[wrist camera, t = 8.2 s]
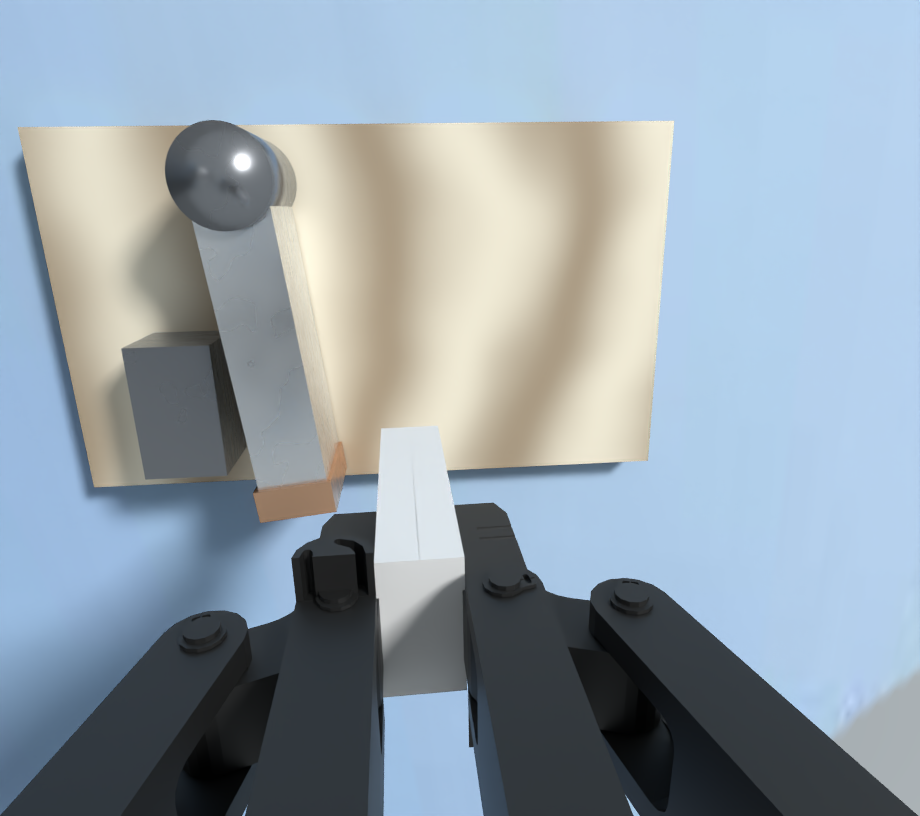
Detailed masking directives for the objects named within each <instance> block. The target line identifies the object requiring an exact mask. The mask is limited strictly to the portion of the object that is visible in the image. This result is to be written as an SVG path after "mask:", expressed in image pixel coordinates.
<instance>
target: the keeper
mask: <svg viewBox="0 0 920 816" xmlns="http://www.w3.org/2000/svg"><path fill="white" fill-rule="evenodd" d="M121 351H122V356H123V362H124V367H125V372H126V378H127V383H128V389H129V394H130V399H131V405H132V410H133V416H134V421H135V426H136V432H137V437H138V443H139V448H140V454H141V459H142V464H143V470H144V475H145V480H148V479H169V478H190V477H211V476H227V475H228V474H229V472H230V471H231V470H232V468H233V467H234V465H235V464H236V462H237V461H238V459H239V458H240V456H241V455H242V453H243V452H244V450H245V449H246V447H247V446H246V438H245V434H244V430H243V426H242V422H241V418H240V414H239V410H238V406H237V402H236V398H235V393H234V389H233V385H232V381H231V377H230V373H229V369H228V365H227V361H226V357H225V353H224V349H223V345H222V341H221V337H220V333H219V331H189V332H157V333H152V334H150V335H148V336H146V337H144V338H142V339H140V340H138V341H136V342H134V343H131V344H129V345H127V346H125V347H123V348H121Z"/></svg>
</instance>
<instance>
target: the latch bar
mask: <svg viewBox="0 0 920 816" xmlns="http://www.w3.org/2000/svg"><path fill="white" fill-rule="evenodd" d="M165 178H166V183H167V187H168V190H169V192H170V195H171V197H172V199H173V200H174V202H175V204H176V205H177V206H178V208H179V209H180V210H181V211H182V212H183V213H184V214H185V215H186V216H187V217H188V218H189V219H190V220H192V223H193V227H194V231H195V235H196V239H197V243H198V247H199V251H200V255H201V259H202V264H203V268H204V272H205V276H206V280H207V284H208V288H209V292H210V296H211V300H212V304H213V308H214V312H215V316H216V320H217V324H218V329H219V333H220V337H221V341H222V345H223V349H224V353H225V357H226V361H227V365H228V369H229V373H230V377H231V381H232V385H233V389H234V393H235V398H236V402H237V406H238V410H239V414H240V418H241V422H242V426H243V430H244V434H245V438H246V442H247V446H248V450H249V454H250V458H251V463H252V467H253V471H254V475H255V479H256V483H257V487H256V489H255V491H254V492H253V496H254V500H255V504H256V508H257V512H258V516H259V520H260V523H263V522H270V521H277V520H284V519H290V518H297V517H304V516H311V515H317V514H324V513H331V512H337V508H338V503H339V499H340V495H341V491H342V486H343V482H344V478H345V474H346V469H347V464H346V459H345V454H344V449H343V444H342V441H341V442H338V437H337V432H336V427H335V422H334V417H333V412H332V407H331V401H330V396H329V391H328V386H327V381H326V376H325V371H324V366H323V361H322V356H321V351H320V346H319V341H318V336H317V331H316V326H315V320H314V315H313V310H312V305H311V300H310V295H309V290H308V285H307V280H306V275H305V270H304V265H303V260H302V255H301V250H300V245H299V239H298V234H297V229H296V224H295V219H294V214H293V209H292V206H293V203H294V201H295V197H296V191H297V182H296V176H295V172H294V170H293V167H292V165H291V163H290V161H289V160H288V158H287V157H286V155H285V154H284V153H283V152H282V151H281V150H280V149H279V148H278V147H276V146H275V145H274V144H272V143H270V142H268V141H266V140H264V139H262V138H260V137H258V136H256V135H254V134H252V133H250V132H248V131H246V130H244V129H242V128H240V127H238V126H236V125H233V124H231V123H228V122H224V121H216V120H209V121H202V122H198V123H195V124H193V125H191V126H189V127H187V128H186V129H184V130H183V131H182V132H180V134H179V135H178V136H177V137H176V138H175V139H174V141H173V142H172V144H171V146H170V148H169V150H168V153H167V156H166V161H165Z"/></svg>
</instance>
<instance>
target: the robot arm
mask: <svg viewBox="0 0 920 816" xmlns="http://www.w3.org/2000/svg"><path fill="white" fill-rule="evenodd" d="M291 560H292V568H293V577H294V586H295V594H296V605H295V609H294V611H293V612H292V613H290V614H289V615H287V616H285V617H283V618H281V619H279V620H276V621H273V622H270V623H268V624H264V625H261V626H257V627H253V628H250V629H248V627H247V623H246V620H245V619H244V618H242V617H241V616H240V615H239V614H237V613H233V612H228V611H208V612H203V613H199V614H196V615H193V616H190V617H188V618H186V619H184V620H182V621H180V622H178V623H176V624H175V625H173V626H172V627H171V628H170V629H168V630H167V631H166V632H165V633H164V634H163V635H162V636H161V637H160V638H159V639H158V640H157V641H156V643H155V644H154V645H153V646H152V647H151V648H150V649H149V650H148V651H147V653H146V654H145V655H144V656H143V657H142V658H141V659H140V660H139V662H138V663H137V664H136V665H135V666H134V667H133V668H132V669H131V670H130V672H129V673H128V674H127V675H126V676H125V677H124V678H123V679H122V680H121V682H120V683H119V684H118V685H117V686H116V687H115V688H114V689H113V691H112V692H111V693H110V694H109V695H108V696H107V697H106V698H105V699H104V701H103V702H102V703H101V704H100V705H99V706H98V707H97V708H96V709H95V711H94V712H93V713H92V714H91V715H90V716H89V717H88V718H87V720H86V721H85V722H84V723H83V724H82V725H81V726H80V727H79V728H78V730H77V731H76V732H75V733H74V734H73V735H72V736H71V737H70V738H69V740H68V741H67V742H66V743H65V744H64V745H63V746H62V747H61V749H60V750H59V751H58V752H57V753H56V754H55V755H54V756H53V757H52V759H51V760H50V761H49V762H48V763H47V764H46V765H45V766H44V767H43V769H42V770H41V771H40V772H39V773H38V774H37V775H36V776H35V778H34V779H33V780H32V781H31V782H30V783H29V784H28V785H27V786H26V788H25V789H24V790H23V791H22V792H21V793H20V794H19V795H18V796H17V798H16V799H15V800H14V801H13V802H12V803H11V804H10V805H9V807H8V808H7V809H6V810H5V811H4V812H3V813H2V814H1V815H0V816H242V815H243V813H244V811H245V809H246V807H247V810H246V814H245V816H383V807H384V730H385V719H384V704H383V697H393V696H405V695H416V694H427V693H438V692H450V691H461V690H467V683H468V706H469V747H474V753H475V760H476V767H477V774H478V780H479V787H480V794H481V801H482V808H483V815H484V816H633V814H632V811H631V808H630V806H629V803H628V801H627V798H628V799H629V800H630V802H631V803H632V805H633V806H634V808H635V809H636V811H637V812H638V814H639V815H640V816H918V815H917V814H916V813H914V812H913V811H912V810H911V809H910V808H909V807H908V806H906V805H905V804H904V803H903V802H902V801H901V800H899V798H897V797H896V796H895V795H894V794H893V793H892V792H890V791H889V790H888V789H887V788H886V787H885V786H884V785H883V784H881V783H880V782H879V781H878V780H877V779H876V778H874V777H873V776H872V775H871V774H870V773H869V772H868V771H867V770H866V769H865V768H863V767H862V766H861V765H860V764H859V763H858V762H856V761H855V760H854V759H853V758H852V757H851V756H850V755H849V754H848V753H846V752H845V751H844V750H843V749H842V748H841V747H840V746H838V745H837V744H836V743H835V742H834V741H833V740H832V739H830V738H829V737H828V736H827V735H826V734H825V733H824V732H823V731H821V730H820V729H819V728H818V727H817V726H816V725H815V724H813V723H812V722H811V721H810V720H809V719H808V718H807V717H806V716H804V715H803V714H802V713H801V712H800V711H799V710H798V709H796V708H795V707H794V706H793V705H792V704H791V703H790V702H789V701H787V700H786V699H785V698H784V697H783V696H782V695H781V694H779V693H778V692H777V691H776V690H775V689H774V688H773V687H771V686H770V685H769V684H768V683H767V682H766V681H765V680H764V679H762V678H761V677H760V676H759V675H758V674H757V673H756V672H754V671H753V670H752V669H751V668H750V667H749V666H748V665H747V664H745V663H744V662H743V661H742V660H741V659H740V658H739V657H737V656H736V655H735V654H734V653H733V652H732V651H731V650H730V649H728V648H727V647H726V646H725V645H724V644H723V643H722V642H720V641H719V640H718V639H717V638H716V637H715V636H714V635H713V634H711V633H710V632H709V631H708V630H707V629H706V628H705V627H703V626H702V625H701V624H700V623H699V622H698V621H697V620H695V619H694V618H693V617H692V616H691V615H690V614H689V613H688V612H686V611H685V610H684V609H683V608H682V607H681V606H680V605H678V604H677V603H676V602H675V601H674V600H673V599H672V598H671V597H669V596H668V595H667V594H666V593H665V592H663V591H662V590H660V589H659V588H657V587H655V586H654V585H652V584H649V583H646V582H643V581H640V580H636V579H629V578H620V579H610V580H607V581H604V582H602V583H599V584H597V586H596V587H595V588H594V589H593V590H592V591H591V598H590V601H589V600H581V599H573V598H567V597H562V596H558V595H555V594H553V593H550V592H547V591H546V590H545V588H544V585H543V583H542V581H541V580H540V579H539V577H538V576H537V575H536V574H534V573H532V572H531V571H529V570H527V567H526V565H525V562H524V559H523V557H522V554H521V551H520V548H519V546H518V543H517V540H516V538H515V535H514V532H513V529H512V528H511V524H510V521H509V518H508V516H507V513H506V512H505V511H503V510H502V509H501V508H499V507H498V506H497V505H496V504H494V503H481V504H465V505H454V503H453V498H452V493H451V488H450V483H449V478H448V473H447V468H446V463H445V458H444V453H443V448H442V443H441V438H440V433H439V429H438V426H421V427H401V428H381V440H380V459H379V478H378V496H377V512H364V513H348V514H334V515H333V516H332V517H331V518H330V519H329V520H328V521H327V522H326V523H325V524H324V525H323V526H322V531H321V535H320V538H319V539H316V540H313V541H311V542H308V543H306V544H305V545H303V546H302V547H300V548H299V549H297V550H296V552H295V553H294V555H293V557H292V558H291ZM625 795H626V796H627V798H626V796H625ZM247 805H248V806H247Z"/></svg>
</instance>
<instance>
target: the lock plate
mask: <svg viewBox="0 0 920 816" xmlns="http://www.w3.org/2000/svg"><path fill="white" fill-rule="evenodd" d="M236 126H238V127H240V128H242V129H244V130H246V131H248V132H250V133H252V134H254V135H256V136H258V137H260V138H262V139H264V140H266V141H268V142H270V143H272V144H274V145H275V146H276V147H278V148H279V149H280V150H281V151H282V152H283V153H284V154H285V155H286V157H287V158H288V160H289V161H290V163H291V165H292V167H293V170H294V172H295V176H296V182H297V191H296V197H295V201H294V203H293V206H292V209H293V214H294V219H295V224H296V229H297V234H298V239H299V245H300V250H301V255H302V260H303V265H304V270H305V275H306V280H307V285H308V290H309V295H310V300H311V305H312V310H313V315H314V320H315V326H316V331H317V336H318V341H319V346H320V351H321V356H322V361H323V366H324V371H325V376H326V381H327V386H328V391H329V396H330V401H331V407H332V412H333V417H334V422H335V427H336V432H337V437H338V442H341V441H342V444H343V449H344V454H345V459H346V464H347V469H346V474H345V475H360V474H379V459H380V440H381V428H401V427H421V426H438V429H439V433H440V438H441V443H442V448H443V453H444V458H445V463H446V468H447V470H464V469H484V468H505V467H526V466H546V465H567V464H588V463H609V462H629V461H648V451H649V438H650V425H651V412H652V400H653V387H654V374H655V361H656V348H657V335H658V322H659V309H660V296H661V283H662V271H663V258H664V245H665V232H666V219H667V206H668V193H669V180H670V167H671V155H672V142H673V129H674V121H613V122H510V123H406V124H303V125H236ZM187 127H189V126H95V127H18V131H19V136H20V140H21V145H22V150H23V155H24V159H25V164H26V169H27V173H28V178H29V183H30V188H31V192H32V197H33V202H34V206H35V211H36V216H37V221H38V225H39V230H40V235H41V239H42V244H43V249H44V253H45V258H46V263H47V268H48V272H49V277H50V282H51V286H52V291H53V296H54V301H55V305H56V310H57V315H58V319H59V324H60V329H61V334H62V338H63V343H64V348H65V352H66V357H67V362H68V367H69V371H70V376H71V381H72V385H73V390H74V395H75V399H76V404H77V409H78V414H79V418H80V423H81V428H82V432H83V437H84V442H85V447H86V451H87V456H88V461H89V465H90V470H91V475H92V480H93V484H94V487H112V486H132V485H153V484H174V483H195V482H215V481H236V480H256V479H255V475H254V471H253V467H252V463H251V458H250V454H249V450H248V446H247V442H246V446H247V447H246V449H245V450H244V452H243V453H242V455H241V456H240V458H239V459H238V461H237V462H236V464H235V465H234V467H233V468H232V470H231V471H230V472H229V474H228V475H227V476H211V477H190V478H169V479H148V480H145V475H144V470H143V464H142V459H141V454H140V448H139V443H138V437H137V432H136V426H135V421H134V416H133V410H132V405H131V399H130V394H129V389H128V383H127V378H126V372H125V367H124V362H123V356H122V351H121V348H123V347H125V346H127V345H129V344H131V343H134V342H136V341H138V340H140V339H142V338H144V337H146V336H148V335H150V334H152V333H157V332H189V331H219V329H218V324H217V320H216V316H215V312H214V308H213V304H212V300H211V296H210V292H209V288H208V284H207V280H206V276H205V272H204V268H203V264H202V259H201V255H200V251H199V247H198V243H197V239H196V235H195V231H194V227H193V223H192V220H190V219H189V218H188V217H187V216H186V215H185V214H184V213H183V212H182V211H181V210H180V209H179V208H178V206H177V205H176V204H175V202H174V200H173V199H172V197H171V195H170V192H169V190H168V187H167V183H166V178H165V161H166V156H167V153H168V150H169V148H170V146H171V144H172V142H173V141H174V139H175V138H176V137H177V136H178V135H179V134H180V132H182V131H183V130H184V129H186V128H187Z"/></svg>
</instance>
